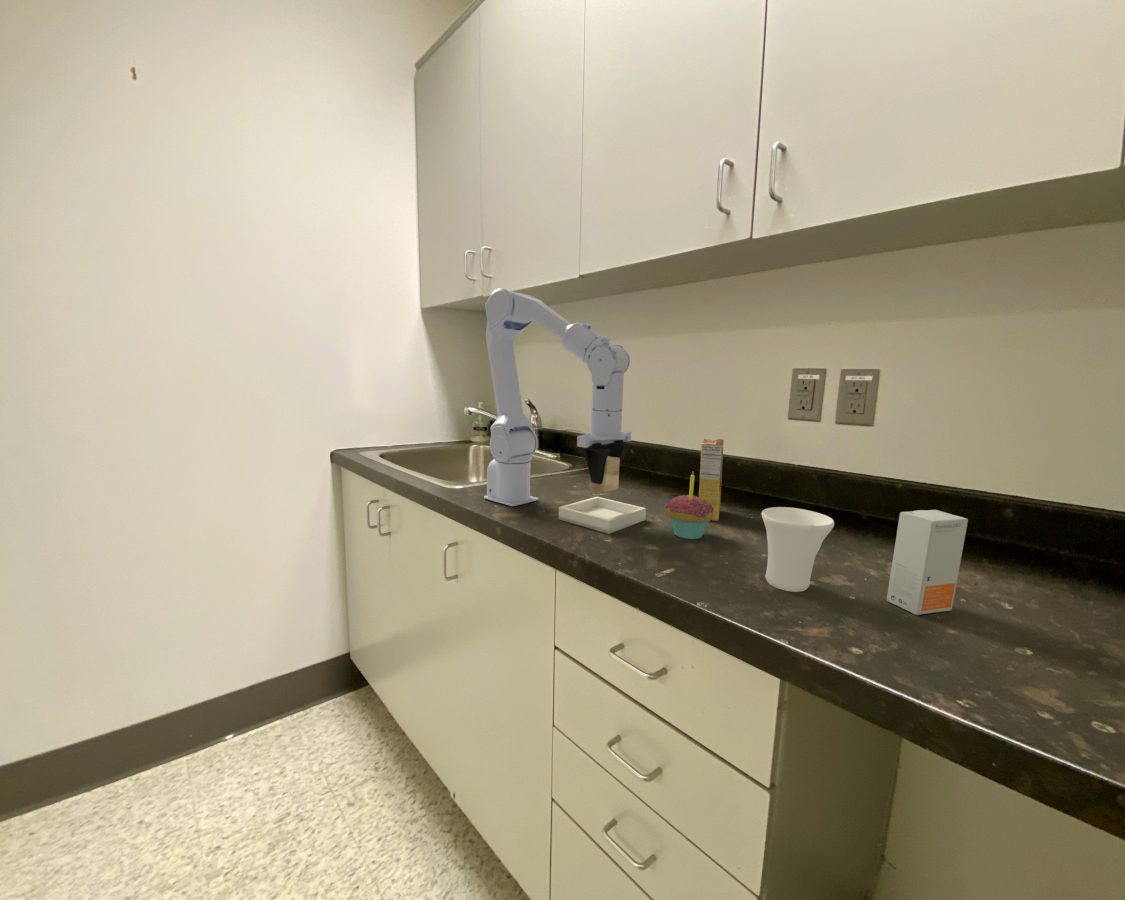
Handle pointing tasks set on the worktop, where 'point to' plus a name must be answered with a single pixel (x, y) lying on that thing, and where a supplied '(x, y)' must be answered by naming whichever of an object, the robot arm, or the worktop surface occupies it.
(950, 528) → the skincare box
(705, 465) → the candy box
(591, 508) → the tray
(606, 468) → the wooden block
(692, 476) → the cupcake
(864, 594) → the worktop surface
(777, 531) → the cup
